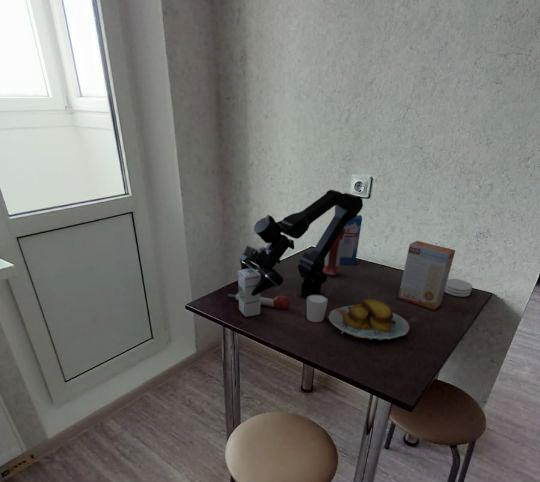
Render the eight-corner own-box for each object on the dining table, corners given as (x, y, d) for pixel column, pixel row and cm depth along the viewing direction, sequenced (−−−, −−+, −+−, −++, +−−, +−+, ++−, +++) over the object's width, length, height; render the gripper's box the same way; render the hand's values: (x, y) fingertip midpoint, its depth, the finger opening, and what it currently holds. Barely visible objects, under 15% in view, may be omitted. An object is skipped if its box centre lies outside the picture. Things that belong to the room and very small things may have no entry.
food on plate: (312, 325, 129) (314, 307, 126) (355, 302, 145) (357, 285, 142) (382, 358, 114) (387, 338, 111) (421, 328, 130) (426, 310, 127)
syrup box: (260, 314, 135) (261, 273, 127) (244, 317, 132) (244, 276, 125) (253, 307, 139) (254, 267, 132) (237, 310, 137) (237, 269, 129)
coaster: (462, 299, 150) (465, 291, 148) (437, 290, 157) (440, 282, 155) (474, 293, 156) (477, 284, 154) (450, 284, 162) (452, 276, 161)
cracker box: (440, 305, 145) (456, 249, 135) (433, 311, 141) (449, 253, 131) (404, 293, 153) (417, 239, 143) (397, 298, 149) (409, 243, 139)
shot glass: (327, 315, 136) (329, 296, 132) (323, 324, 130) (325, 305, 127) (307, 311, 138) (309, 293, 134) (302, 320, 132) (304, 301, 128)
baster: (290, 306, 140) (291, 295, 138) (287, 311, 137) (288, 300, 135) (231, 296, 146) (231, 285, 144) (226, 301, 142) (226, 290, 140)
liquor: (321, 270, 171) (329, 202, 156) (339, 271, 170) (348, 203, 156) (321, 276, 164) (329, 206, 150) (339, 278, 164) (348, 207, 149)
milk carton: (332, 263, 178) (337, 217, 168) (332, 258, 184) (338, 213, 174) (355, 265, 177) (362, 219, 167) (355, 260, 183) (361, 215, 172)
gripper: (243, 228, 131) (214, 267, 131) (277, 245, 118) (244, 287, 118) (263, 248, 139) (235, 284, 139) (296, 266, 126) (266, 305, 126)
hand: (244, 289), depth 130 cm, fingers open, 9 cm apart
